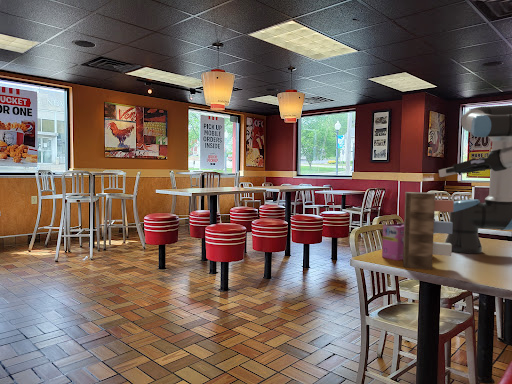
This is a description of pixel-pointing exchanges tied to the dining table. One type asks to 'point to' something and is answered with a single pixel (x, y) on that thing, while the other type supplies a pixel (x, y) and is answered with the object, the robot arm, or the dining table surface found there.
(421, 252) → the brown tall box
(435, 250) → the white rectangular block
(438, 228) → the blue-grey rectangular block
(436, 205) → the red key
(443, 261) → the dining table surface
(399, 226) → the gum box
